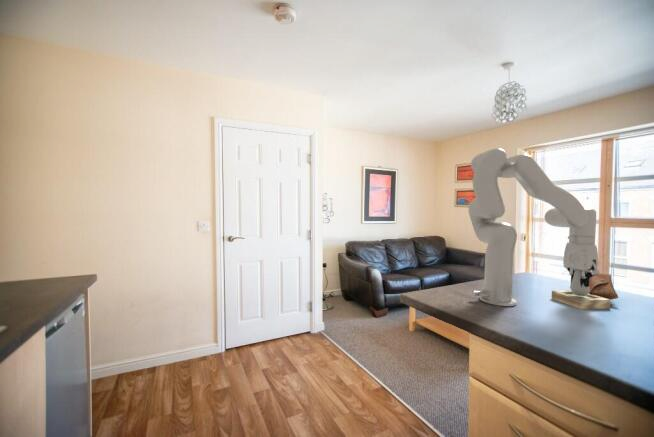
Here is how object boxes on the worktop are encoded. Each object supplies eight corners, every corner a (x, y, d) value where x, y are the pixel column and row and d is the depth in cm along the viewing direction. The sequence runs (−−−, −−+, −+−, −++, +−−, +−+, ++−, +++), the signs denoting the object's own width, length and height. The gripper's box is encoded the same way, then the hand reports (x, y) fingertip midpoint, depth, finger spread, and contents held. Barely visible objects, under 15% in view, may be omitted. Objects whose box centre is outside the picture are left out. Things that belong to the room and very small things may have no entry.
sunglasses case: (620, 297, 105) (601, 285, 107) (603, 307, 109) (585, 296, 111) (610, 273, 118) (594, 263, 120) (595, 283, 123) (580, 273, 125)
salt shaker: (591, 297, 105) (593, 263, 105) (571, 295, 108) (573, 262, 108) (587, 293, 110) (588, 261, 110) (568, 291, 113) (569, 259, 113)
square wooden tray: (580, 309, 103) (580, 300, 103) (551, 298, 115) (551, 290, 115) (609, 308, 104) (610, 299, 104) (578, 298, 116) (578, 290, 116)
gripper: (554, 237, 116) (552, 281, 117) (594, 242, 100) (592, 293, 101) (570, 237, 117) (568, 281, 118) (613, 242, 101) (611, 293, 101)
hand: (579, 286), depth 109 cm, fingers closed on salt shaker, 3 cm apart
